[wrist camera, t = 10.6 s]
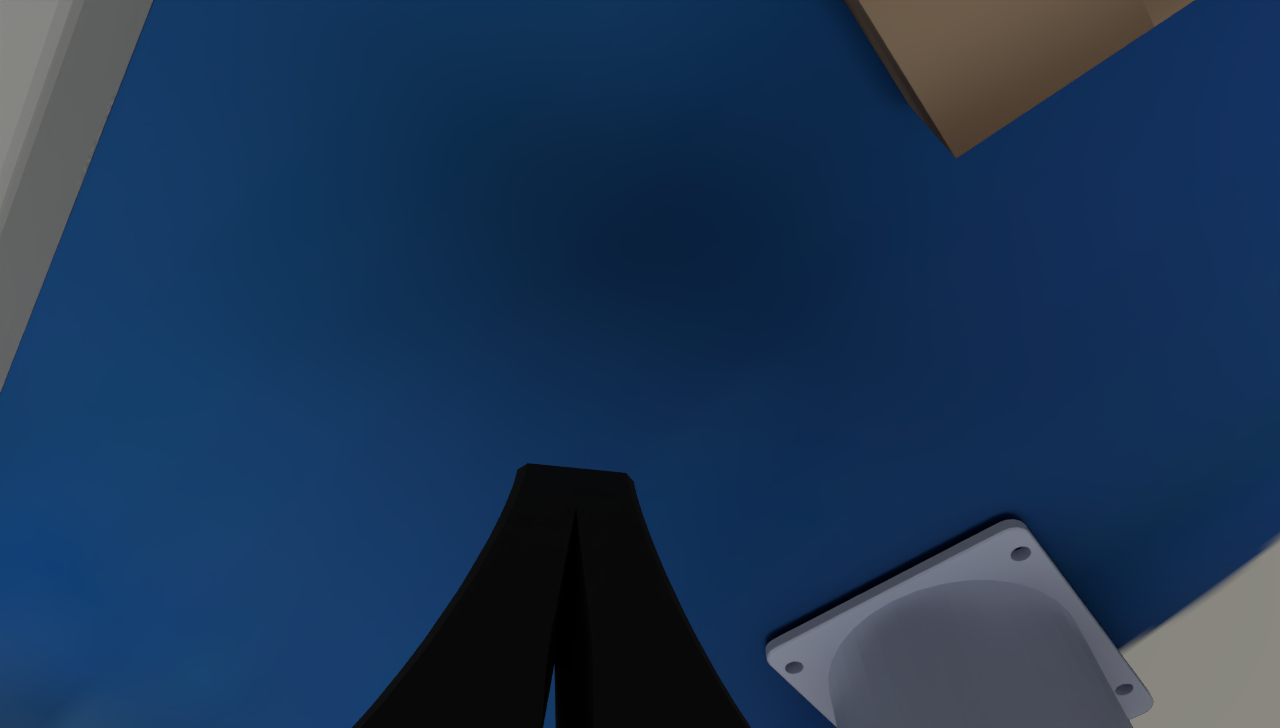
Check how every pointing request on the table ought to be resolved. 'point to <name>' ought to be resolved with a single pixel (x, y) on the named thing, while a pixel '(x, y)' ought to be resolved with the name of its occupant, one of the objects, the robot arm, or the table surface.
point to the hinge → (51, 131)
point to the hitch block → (995, 53)
